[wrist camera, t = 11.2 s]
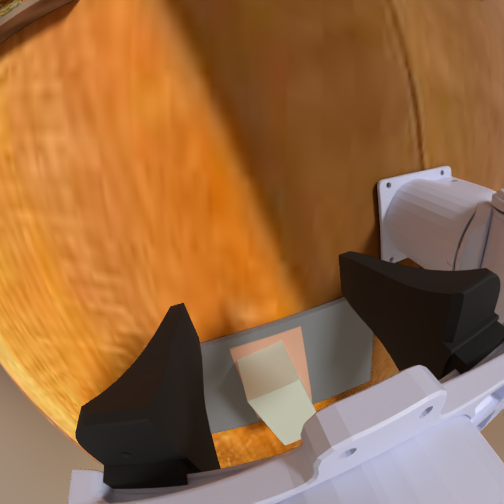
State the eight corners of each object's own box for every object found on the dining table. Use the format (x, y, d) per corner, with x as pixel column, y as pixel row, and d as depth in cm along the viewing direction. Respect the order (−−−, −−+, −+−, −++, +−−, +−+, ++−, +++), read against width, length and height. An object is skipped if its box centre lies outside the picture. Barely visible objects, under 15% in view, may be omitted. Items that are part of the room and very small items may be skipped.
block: (308, 395, 29) (324, 428, 25) (273, 411, 29) (284, 445, 25) (281, 340, 25) (299, 379, 21) (237, 359, 25) (247, 401, 21)
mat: (371, 286, 26) (375, 289, 25) (367, 377, 32) (370, 380, 31) (144, 356, 24) (144, 362, 23) (197, 432, 30) (197, 437, 29)
